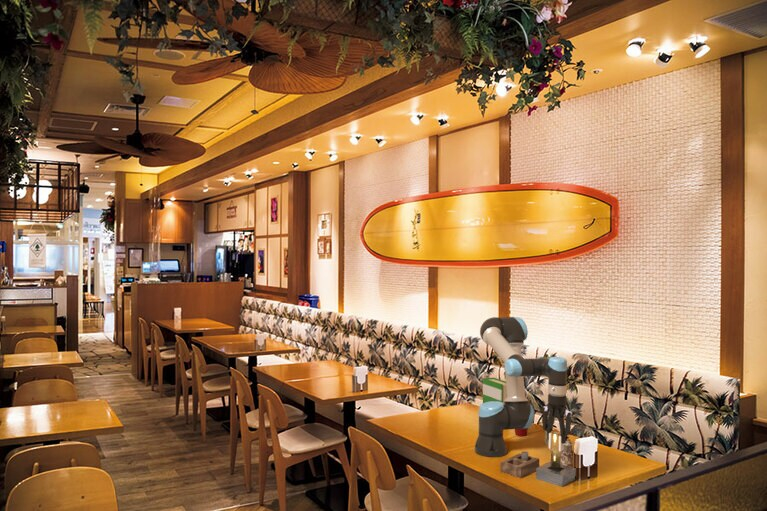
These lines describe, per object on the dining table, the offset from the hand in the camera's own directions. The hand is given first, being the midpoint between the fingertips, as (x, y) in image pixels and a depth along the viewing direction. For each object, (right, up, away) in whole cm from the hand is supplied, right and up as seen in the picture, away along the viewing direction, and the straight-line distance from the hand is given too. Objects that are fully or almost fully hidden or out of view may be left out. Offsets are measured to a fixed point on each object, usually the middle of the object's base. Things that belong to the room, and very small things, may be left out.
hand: (556, 449), depth 252 cm
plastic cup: (-1, -13, +62) cm, 63 cm away
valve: (+14, -13, +48) cm, 52 cm away
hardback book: (-9, -13, +84) cm, 85 cm away
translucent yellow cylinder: (0, -7, 0) cm, 7 cm away
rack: (-13, -12, +9) cm, 20 cm away
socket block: (0, -13, 0) cm, 13 cm away
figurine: (+9, -13, +14) cm, 21 cm away
